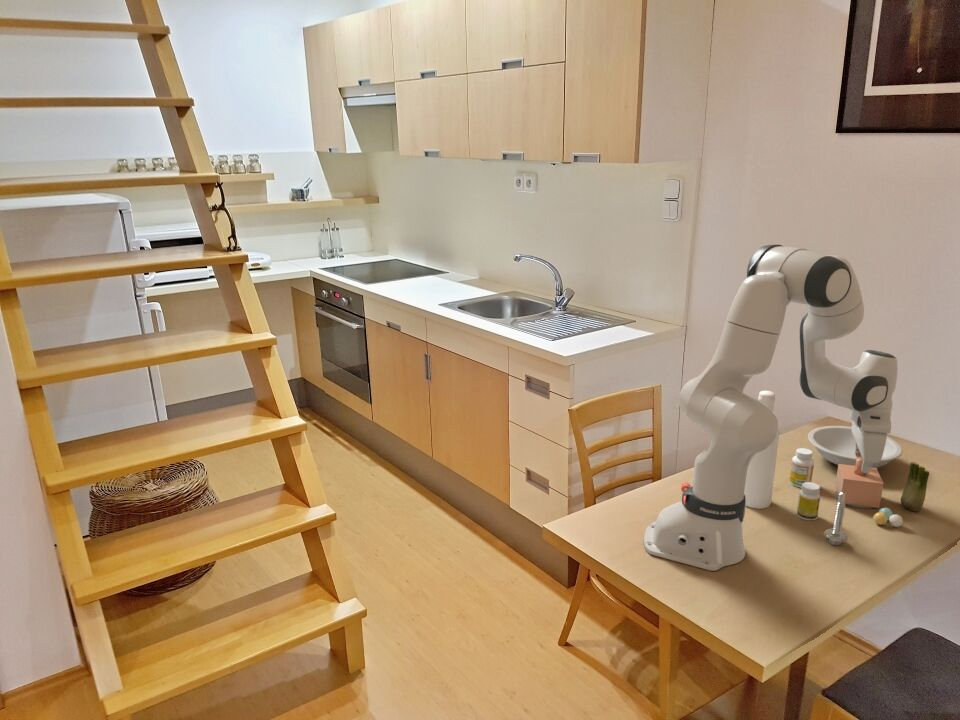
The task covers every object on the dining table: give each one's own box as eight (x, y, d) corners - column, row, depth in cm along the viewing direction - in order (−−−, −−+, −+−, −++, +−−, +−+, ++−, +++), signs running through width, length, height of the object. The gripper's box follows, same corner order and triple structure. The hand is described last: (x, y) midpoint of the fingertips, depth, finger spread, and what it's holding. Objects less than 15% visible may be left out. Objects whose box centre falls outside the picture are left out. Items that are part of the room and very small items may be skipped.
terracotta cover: (839, 502, 181) (845, 464, 178) (834, 486, 190) (840, 449, 186) (879, 507, 179) (886, 469, 175) (872, 491, 187) (879, 454, 184)
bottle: (739, 507, 181) (751, 396, 172) (737, 492, 188) (748, 386, 179) (772, 510, 179) (786, 399, 170) (769, 496, 186) (782, 388, 177)
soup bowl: (797, 468, 202) (799, 447, 200) (814, 439, 220) (816, 419, 218) (893, 490, 189) (897, 468, 187) (902, 457, 207) (906, 436, 205)
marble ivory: (889, 528, 171) (891, 517, 170) (886, 522, 173) (888, 511, 172) (903, 530, 170) (905, 519, 169) (900, 524, 172) (902, 513, 172)
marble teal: (879, 521, 174) (881, 510, 173) (876, 515, 176) (878, 504, 176) (892, 523, 173) (894, 512, 172) (890, 517, 176) (892, 506, 175)
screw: (822, 545, 164) (823, 534, 168) (846, 550, 162) (846, 539, 166) (830, 494, 160) (831, 485, 164) (854, 499, 158) (854, 490, 162)
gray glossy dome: (837, 505, 181) (837, 503, 181) (832, 487, 190) (832, 485, 190) (881, 511, 178) (881, 509, 178) (874, 492, 187) (874, 490, 187)
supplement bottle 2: (819, 521, 174) (823, 491, 171) (798, 520, 175) (802, 489, 172) (814, 512, 178) (818, 482, 176) (794, 510, 179) (798, 480, 177)
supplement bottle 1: (800, 477, 196) (805, 445, 193) (815, 486, 191) (820, 453, 188) (784, 481, 194) (789, 448, 192) (799, 489, 190) (803, 456, 187)
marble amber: (873, 526, 172) (875, 515, 171) (871, 520, 174) (873, 509, 173) (887, 528, 171) (889, 517, 170) (885, 521, 173) (887, 511, 173)
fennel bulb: (924, 515, 176) (933, 471, 173) (902, 512, 178) (910, 468, 174) (919, 504, 182) (927, 461, 178) (897, 501, 183) (905, 458, 179)
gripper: (849, 398, 187) (842, 446, 192) (863, 427, 169) (854, 479, 173) (876, 400, 186) (868, 448, 190) (892, 430, 167) (883, 483, 171)
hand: (861, 463), depth 181 cm, fingers open, 8 cm apart
